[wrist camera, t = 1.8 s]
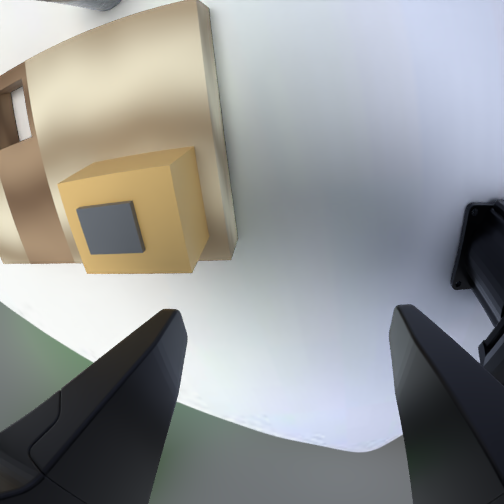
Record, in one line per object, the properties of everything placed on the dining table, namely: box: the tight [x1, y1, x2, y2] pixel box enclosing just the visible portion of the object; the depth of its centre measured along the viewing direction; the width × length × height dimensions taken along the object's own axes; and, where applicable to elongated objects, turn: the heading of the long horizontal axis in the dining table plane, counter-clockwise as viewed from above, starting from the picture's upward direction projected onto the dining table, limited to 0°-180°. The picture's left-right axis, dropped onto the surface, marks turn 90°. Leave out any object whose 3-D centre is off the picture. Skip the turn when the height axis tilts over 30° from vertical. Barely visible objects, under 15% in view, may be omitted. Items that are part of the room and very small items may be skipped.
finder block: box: [57, 146, 209, 274], centre depth 15 cm, size 5×6×4 cm
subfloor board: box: [0, 0, 238, 264], centre depth 17 cm, size 14×20×2 cm
